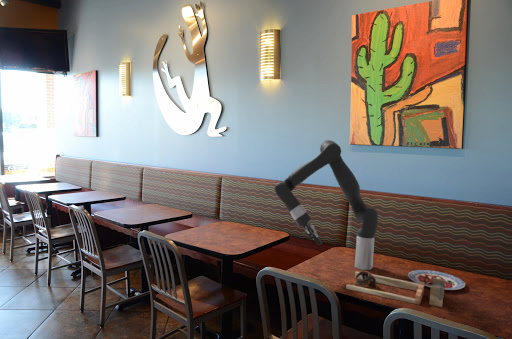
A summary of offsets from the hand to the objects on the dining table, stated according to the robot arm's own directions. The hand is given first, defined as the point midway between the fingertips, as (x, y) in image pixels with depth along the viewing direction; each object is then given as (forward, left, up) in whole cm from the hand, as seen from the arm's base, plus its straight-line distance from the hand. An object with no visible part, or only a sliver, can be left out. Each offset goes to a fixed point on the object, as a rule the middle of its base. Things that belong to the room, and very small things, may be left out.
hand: (320, 244), depth 199 cm
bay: (-1, +32, -16) cm, 36 cm away
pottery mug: (-1, +23, -16) cm, 29 cm away
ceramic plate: (-25, +52, -17) cm, 60 cm away
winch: (+1, +54, -16) cm, 57 cm away
